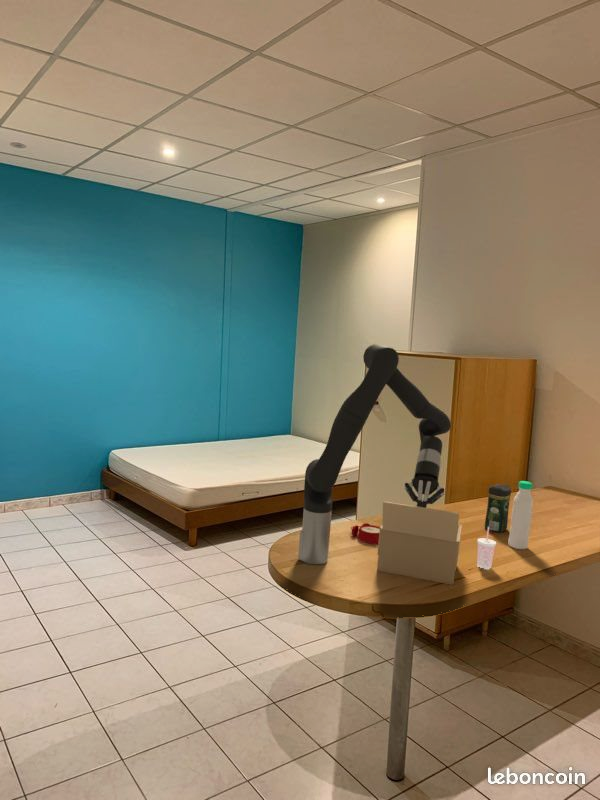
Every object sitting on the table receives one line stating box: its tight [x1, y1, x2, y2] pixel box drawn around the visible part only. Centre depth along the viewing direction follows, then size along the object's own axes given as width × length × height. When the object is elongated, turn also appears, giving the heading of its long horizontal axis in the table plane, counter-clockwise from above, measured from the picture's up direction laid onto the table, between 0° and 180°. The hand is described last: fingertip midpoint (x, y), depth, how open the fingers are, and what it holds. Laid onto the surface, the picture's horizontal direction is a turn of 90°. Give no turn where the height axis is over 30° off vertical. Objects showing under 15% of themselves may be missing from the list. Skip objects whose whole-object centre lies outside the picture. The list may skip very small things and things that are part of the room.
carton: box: [376, 523, 463, 586], centre depth 201 cm, size 25×18×14 cm
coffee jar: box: [484, 483, 512, 533], centre depth 249 cm, size 10×8×19 cm
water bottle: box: [507, 480, 534, 550], centre depth 229 cm, size 7×7×25 cm
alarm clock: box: [350, 522, 381, 545], centre depth 227 cm, size 10×6×15 cm
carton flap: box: [381, 500, 460, 542], centre depth 189 cm, size 23×11×1 cm
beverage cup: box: [476, 527, 497, 570], centre depth 207 cm, size 6×6×14 cm
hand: (420, 513), depth 188 cm, fingers closed
